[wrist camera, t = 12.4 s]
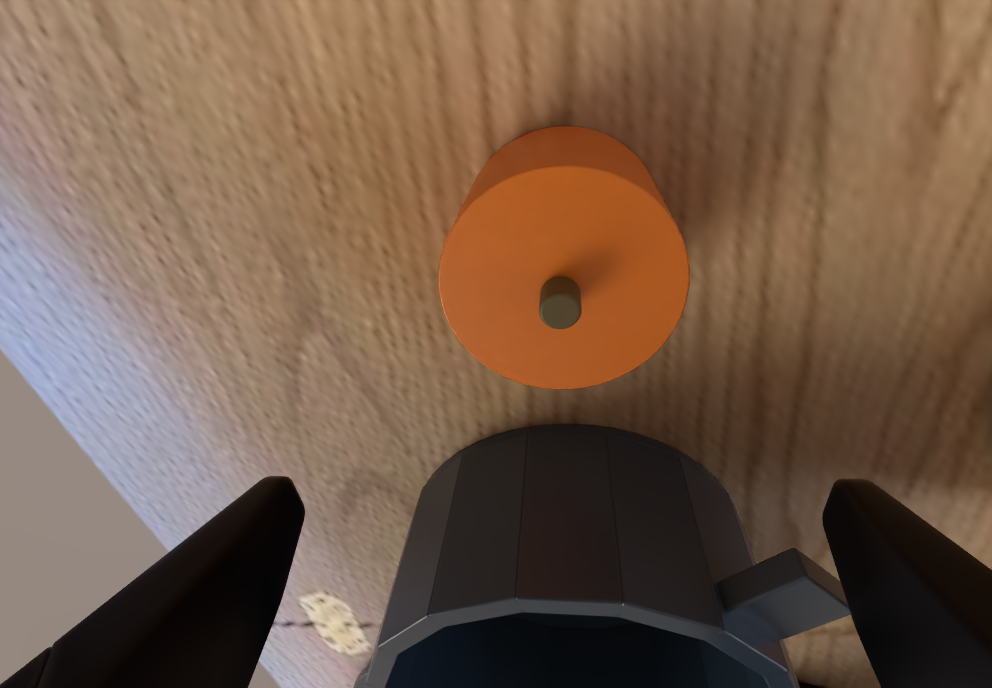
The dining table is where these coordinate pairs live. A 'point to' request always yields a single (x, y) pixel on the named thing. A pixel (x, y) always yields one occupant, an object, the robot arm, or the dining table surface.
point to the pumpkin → (564, 262)
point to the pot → (589, 574)
